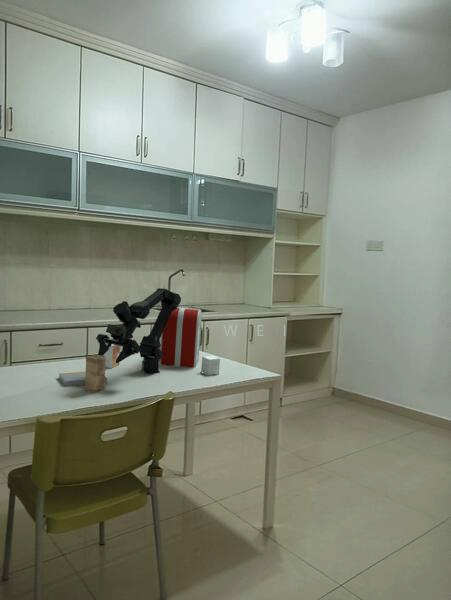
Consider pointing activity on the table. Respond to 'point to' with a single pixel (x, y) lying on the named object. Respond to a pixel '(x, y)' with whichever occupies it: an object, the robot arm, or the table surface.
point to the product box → (210, 365)
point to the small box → (112, 356)
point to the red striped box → (181, 338)
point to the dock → (74, 378)
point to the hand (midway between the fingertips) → (107, 360)
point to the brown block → (95, 373)
